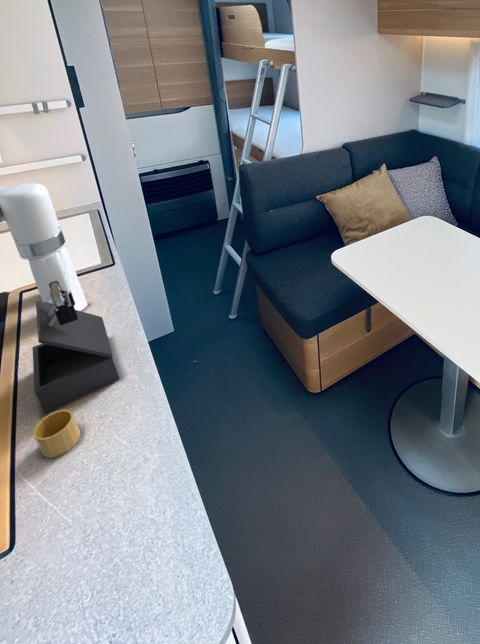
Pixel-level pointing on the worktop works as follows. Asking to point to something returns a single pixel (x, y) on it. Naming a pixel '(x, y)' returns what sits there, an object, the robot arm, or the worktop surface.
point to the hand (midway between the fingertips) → (67, 313)
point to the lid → (72, 331)
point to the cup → (57, 433)
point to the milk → (73, 283)
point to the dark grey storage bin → (68, 374)
